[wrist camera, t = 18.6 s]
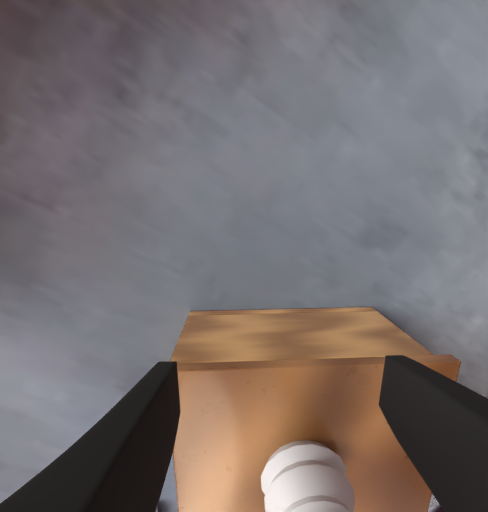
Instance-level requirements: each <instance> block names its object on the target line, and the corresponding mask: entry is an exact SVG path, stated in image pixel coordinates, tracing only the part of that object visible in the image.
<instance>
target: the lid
mask: <svg viewBox="0 0 488 512" xmlns="http://www.w3.org/2000/svg"><path fill="white" fill-rule="evenodd" d="M406 357H408V358H411V359H413V360H415V361H417V362H419V363H421V364H423V365H425V366H427V367H429V368H431V369H433V370H435V371H436V372H438V373H440V374H442V375H444V376H446V377H448V378H450V379H451V380H453V381H455V382H456V381H457V377H458V372H459V368H460V363H461V362H460V361H459V360H458V359H457V358H455V357H454V356H452V355H450V354H448V355H418V356H406ZM384 363H385V357H358V358H328V359H298V360H268V361H238V362H207V363H177V371H178V384H179V397H180V410H181V413H180V418H179V424H178V429H177V435H176V440H175V445H174V449H173V459H174V470H175V481H176V492H177V502H178V512H265V502H264V497H265V494H264V493H263V491H262V488H261V475H262V473H263V470H264V468H265V466H266V464H267V462H268V460H269V458H270V456H271V455H272V454H273V453H274V452H276V451H277V450H278V449H279V448H280V447H282V446H284V445H286V444H289V443H291V442H293V441H303V440H310V441H314V442H318V443H321V444H323V445H324V446H326V447H327V448H329V449H330V450H332V451H333V452H334V453H336V454H337V455H339V456H340V457H341V459H342V461H343V463H344V465H345V467H346V477H347V478H348V480H349V482H350V484H351V486H352V488H353V491H354V497H355V507H354V512H428V508H429V503H430V499H431V494H432V492H431V490H430V489H429V488H428V486H427V485H426V483H425V482H424V480H423V479H422V477H421V476H420V474H419V473H418V471H417V470H416V468H415V467H414V465H413V464H412V462H411V461H410V459H409V458H408V456H407V454H406V453H405V451H404V450H403V448H402V447H401V445H400V444H399V442H398V441H397V439H396V437H395V436H394V434H393V432H392V430H391V428H390V426H389V425H388V423H387V421H386V419H385V417H384V415H383V413H382V411H381V409H380V407H379V398H380V391H381V384H382V377H383V370H384Z"/></svg>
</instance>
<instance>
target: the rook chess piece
mask: <svg viewBox="0 0 488 512" xmlns="http://www.w3.org/2000/svg"><path fill="white" fill-rule="evenodd" d="M261 488H262V491H263V493H264V494H265V497H264V502H265V512H354V507H355V497H354V491H353V488H352V486H351V484H350V482H349V480H348V478H347V477H346V467H345V465H344V463H343V461H342V459H341V457H340V456H339V455H337V454H336V453H334V452H333V451H332V450H330V449H329V448H327V447H326V446H324V445H323V444H321V443H318V442H314V441H310V440H303V441H293V442H291V443H289V444H286V445H284V446H282V447H280V448H279V449H278V450H277V451H276V452H274V453H273V454H272V455H271V456H270V458H269V460H268V462H267V464H266V466H265V468H264V470H263V473H262V475H261Z"/></svg>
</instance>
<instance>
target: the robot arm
mask: <svg viewBox="0 0 488 512" xmlns="http://www.w3.org/2000/svg"><path fill="white" fill-rule="evenodd" d="M379 407H380V409H381V411H382V413H383V415H384V417H385V419H386V421H387V423H388V425H389V426H390V428H391V430H392V432H393V434H394V436H395V437H396V439H397V441H398V442H399V444H400V445H401V447H402V448H403V450H404V451H405V453H406V454H407V456H408V458H409V459H410V461H411V462H412V464H413V465H414V467H415V468H416V470H417V471H418V473H419V474H420V476H421V477H422V479H423V480H424V482H425V483H426V485H427V486H428V488H429V489H430V490H431V492H432V493H433V495H434V496H435V498H436V499H437V501H438V502H439V504H440V505H441V507H442V508H443V510H444V511H445V512H488V399H487V398H486V397H484V396H482V395H480V394H478V393H476V392H474V391H472V390H470V389H468V388H467V387H465V386H463V385H461V384H459V383H457V382H455V381H453V380H451V379H450V378H448V377H446V376H444V375H442V374H440V373H438V372H436V371H435V370H433V369H431V368H429V367H427V366H425V365H423V364H421V363H419V362H417V361H415V360H413V359H411V358H408V357H406V356H404V355H386V356H385V363H384V370H383V377H382V384H381V391H380V398H379ZM180 413H181V410H180V397H179V384H178V371H177V361H171V362H158V363H157V364H156V365H155V366H154V367H153V368H152V369H151V370H150V371H149V372H148V373H147V374H146V375H145V376H144V377H143V378H142V379H141V380H140V381H139V382H138V383H137V384H136V385H135V386H134V387H133V388H132V389H131V390H130V391H129V392H128V393H127V394H126V395H125V396H124V397H123V398H122V399H121V400H120V401H119V402H118V403H117V404H116V405H115V406H114V407H113V408H112V409H111V410H110V411H109V412H108V413H107V414H106V415H105V416H104V417H103V418H102V419H101V420H99V421H98V422H97V423H96V424H95V425H94V426H93V427H92V428H91V429H90V430H89V431H87V432H86V433H85V434H84V435H83V436H82V437H81V438H80V439H79V440H78V441H77V442H75V443H74V444H73V445H72V446H71V447H70V448H69V449H67V450H66V451H65V452H64V453H63V454H62V455H60V456H59V457H58V458H57V459H56V460H54V461H53V462H52V463H51V464H50V465H48V466H47V467H46V468H45V469H44V470H42V471H41V472H40V473H39V474H37V475H36V476H35V477H34V478H32V479H31V480H30V481H29V482H27V483H26V484H25V485H24V486H22V487H21V488H20V489H19V490H17V491H16V492H15V493H14V494H12V495H11V496H10V497H8V498H7V499H6V500H4V501H3V502H2V503H0V512H158V506H157V505H158V501H159V498H160V494H161V491H162V488H163V484H164V481H165V477H166V474H167V470H168V467H169V463H170V460H171V456H172V453H173V449H174V445H175V440H176V435H177V429H178V424H179V418H180Z"/></svg>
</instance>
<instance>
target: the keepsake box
mask: <svg viewBox="0 0 488 512" xmlns="http://www.w3.org/2000/svg"><path fill="white" fill-rule="evenodd" d="M386 355H404V356H418V355H433V354H432V353H431V352H429V351H428V350H427V349H425V348H424V347H423V346H422V345H420V344H419V343H418V342H416V341H415V340H414V339H413V338H411V337H410V336H409V335H407V334H406V333H405V332H404V331H402V330H401V329H400V328H398V327H397V326H396V325H394V324H393V323H392V322H391V321H389V320H388V319H387V318H385V317H384V316H383V315H382V314H380V313H379V312H378V311H376V310H375V309H374V308H372V307H353V308H310V309H267V310H223V311H190V313H189V315H188V317H187V320H186V322H185V325H184V327H183V330H182V332H181V335H180V337H179V340H178V342H177V344H176V347H175V349H174V352H173V354H172V357H171V359H170V362H171V361H177V363H207V362H238V361H268V360H298V359H328V358H358V357H385V356H386Z"/></svg>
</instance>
